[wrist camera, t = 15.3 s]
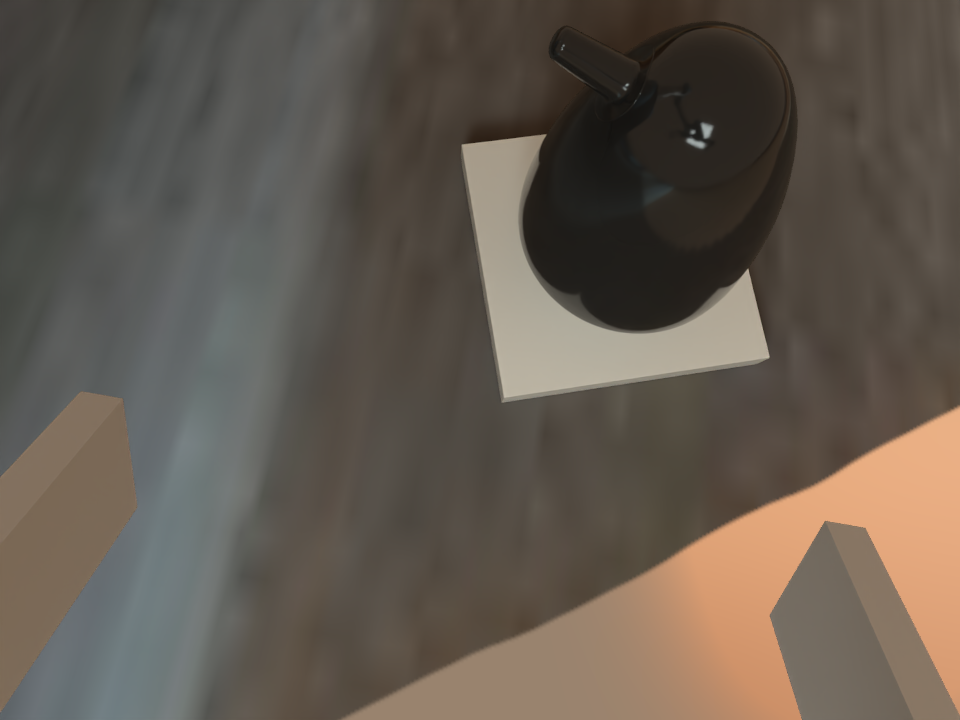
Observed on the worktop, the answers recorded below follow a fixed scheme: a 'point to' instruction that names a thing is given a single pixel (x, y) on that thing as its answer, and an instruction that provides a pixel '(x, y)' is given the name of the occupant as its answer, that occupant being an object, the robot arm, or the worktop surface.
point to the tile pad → (561, 335)
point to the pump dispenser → (659, 174)
